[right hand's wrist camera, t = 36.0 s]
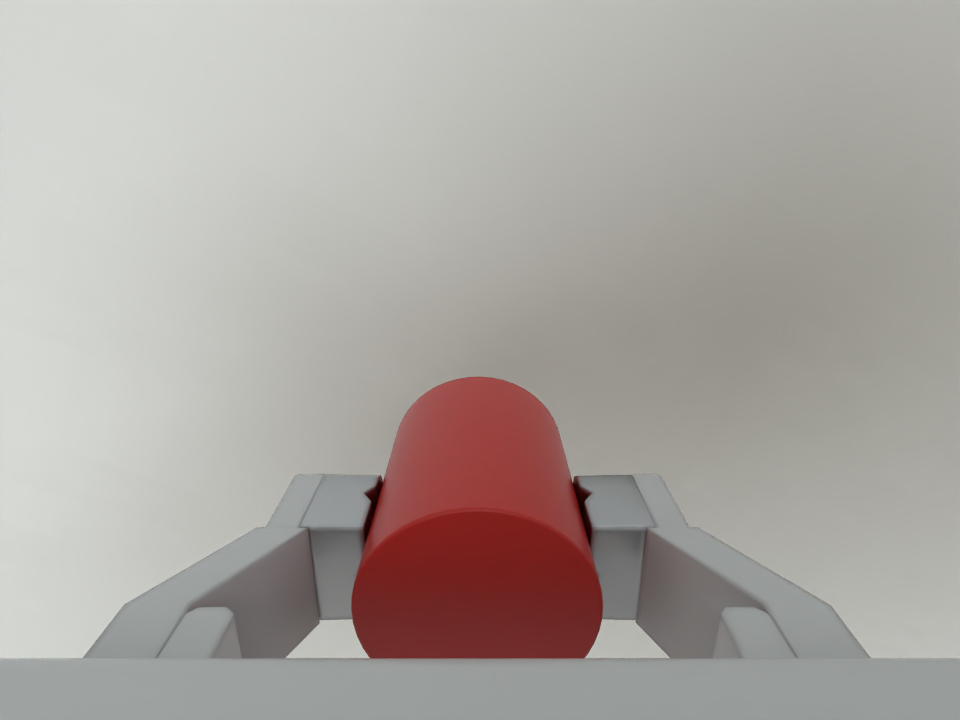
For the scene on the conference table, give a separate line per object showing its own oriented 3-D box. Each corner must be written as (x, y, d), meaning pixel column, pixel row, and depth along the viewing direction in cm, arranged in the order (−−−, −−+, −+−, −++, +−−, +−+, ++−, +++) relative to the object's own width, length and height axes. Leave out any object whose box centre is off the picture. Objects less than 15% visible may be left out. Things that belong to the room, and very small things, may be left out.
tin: (514, 346, 11) (535, 466, 7) (588, 481, 12) (643, 655, 8) (363, 421, 12) (299, 573, 8) (446, 544, 13) (429, 736, 9)
